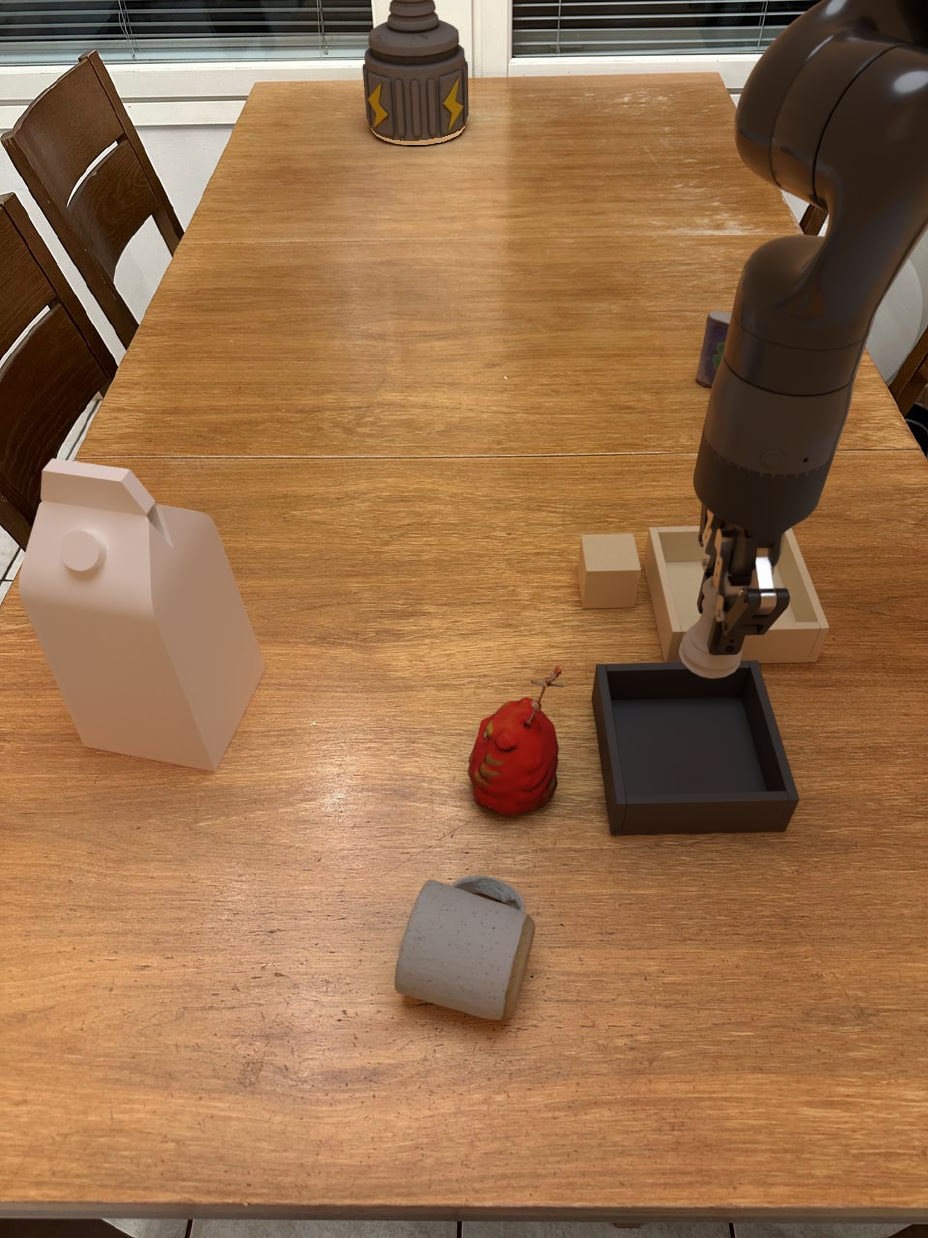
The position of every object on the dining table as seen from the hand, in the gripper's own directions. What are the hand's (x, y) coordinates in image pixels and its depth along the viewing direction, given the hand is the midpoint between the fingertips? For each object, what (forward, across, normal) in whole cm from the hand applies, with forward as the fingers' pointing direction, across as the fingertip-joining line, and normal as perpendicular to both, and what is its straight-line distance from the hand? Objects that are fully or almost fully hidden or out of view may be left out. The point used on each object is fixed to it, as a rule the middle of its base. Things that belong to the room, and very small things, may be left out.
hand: (717, 629), depth 67 cm
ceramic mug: (+16, -16, +18) cm, 29 cm away
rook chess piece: (+3, 0, 0) cm, 3 cm away
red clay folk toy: (+16, -2, +14) cm, 21 cm away
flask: (+16, +53, -15) cm, 57 cm away
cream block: (+16, +20, +4) cm, 25 cm away
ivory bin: (+16, +17, -7) cm, 24 cm away
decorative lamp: (+16, +138, +24) cm, 142 cm away
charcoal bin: (+16, 0, 0) cm, 16 cm away
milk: (+16, +6, +43) cm, 46 cm away
